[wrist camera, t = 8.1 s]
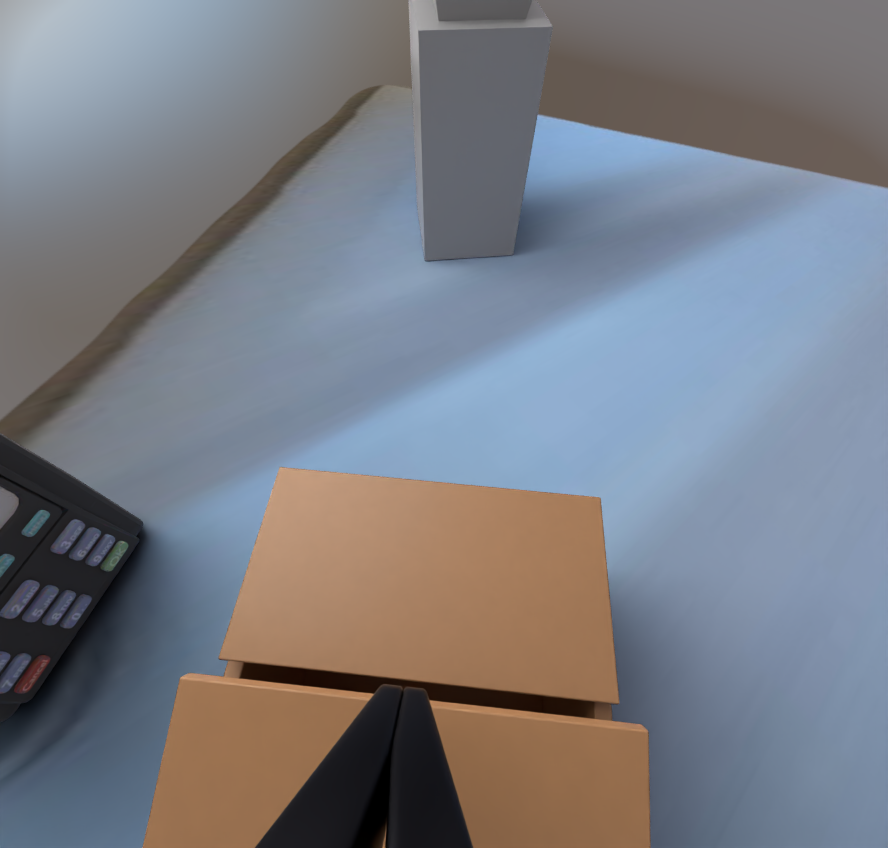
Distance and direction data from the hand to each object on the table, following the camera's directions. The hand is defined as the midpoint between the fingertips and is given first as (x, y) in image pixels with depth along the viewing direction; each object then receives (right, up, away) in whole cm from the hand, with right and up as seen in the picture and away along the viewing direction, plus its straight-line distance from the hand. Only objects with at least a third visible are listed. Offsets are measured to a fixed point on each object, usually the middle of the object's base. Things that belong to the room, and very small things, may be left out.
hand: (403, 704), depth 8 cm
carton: (0, -6, +11) cm, 12 cm away
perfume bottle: (+2, +21, +27) cm, 34 cm away
